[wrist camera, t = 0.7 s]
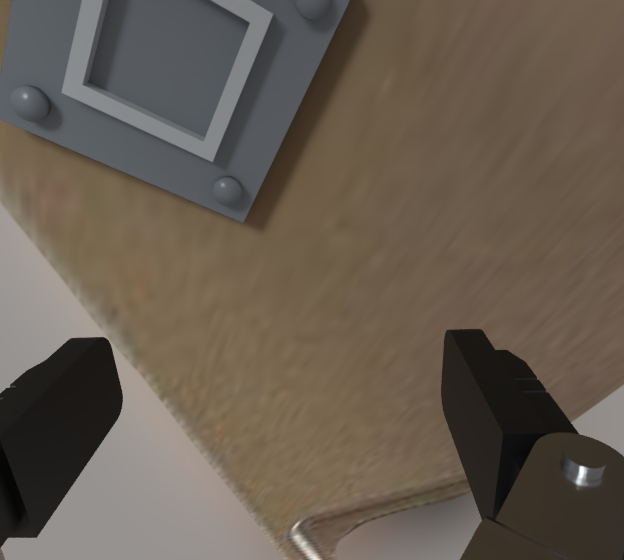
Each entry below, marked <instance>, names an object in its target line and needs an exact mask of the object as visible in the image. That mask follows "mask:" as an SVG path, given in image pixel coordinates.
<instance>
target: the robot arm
mask: <svg viewBox="0 0 624 560" xmlns="http://www.w3.org/2000/svg"><path fill="white" fill-rule="evenodd" d="M441 397H442V406H443V411H444V415H445V418H446V421H447V424H448V426H449V429H450V432H451V435H452V438H453V440H454V443H455V446H456V449H457V451H458V454H459V457H460V460H461V463H462V465H463V468H464V471H465V474H466V477H467V479H468V482H469V485H470V488H471V491H472V493H473V496H474V499H475V502H476V504H477V507H478V510H479V513H480V516H481V518H482V522H481V523H480V524H479V526H478V528H477V529H476V531H475V533H474V535H473V537H472V539H471V541H470V542H469V544H468V546H467V548H466V550H465V552H464V553H463V555H462V557H461V559H460V560H624V457H623V456H622V455H621V454H620V453H619V452H617V451H616V450H614V449H613V448H611V447H610V446H608V445H606V444H604V443H602V442H600V441H598V440H595V439H593V438H590V437H587V436H583V435H580V434H579V433H578V432H577V430H576V429H575V428H574V427H573V425H572V424H571V422H570V421H569V420H568V418H567V417H566V416H565V414H564V413H563V412H562V410H561V409H560V408H559V406H558V405H557V404H556V402H555V401H554V400H553V398H552V397H551V396H550V394H549V393H546V389H545V388H544V386H543V385H542V383H541V382H540V381H539V380H537V377H536V375H535V374H534V373H533V371H532V370H531V369H530V367H529V366H528V365H527V363H526V362H525V361H523V360H522V359H520V358H518V357H517V356H515V355H514V354H512V353H511V352H509V351H508V350H495V349H494V347H493V346H492V344H491V343H490V341H489V340H488V338H487V337H486V335H485V334H484V332H483V331H482V330H481V329H460V330H447V331H446V333H445V338H444V353H443V368H442V384H441ZM122 402H123V395H122V389H121V385H120V381H119V377H118V372H117V368H116V364H115V360H114V356H113V352H112V348H111V345H110V342H109V341H108V340H107V339H106V338H104V337H93V338H71V339H69V340H68V341H67V342H66V343H65V344H63V345H62V346H61V347H60V348H59V349H58V350H57V351H56V352H55V353H53V354H52V355H51V356H50V357H49V358H48V359H47V360H45V361H44V362H42V363H40V364H38V365H36V366H34V367H33V368H31V369H29V370H27V371H26V372H25V373H23V374H22V375H21V376H20V377H19V378H18V379H16V380H15V381H14V382H13V383H12V384H11V385H10V388H6V389H5V390H4V391H3V392H2V393H0V560H5V558H4V555H3V553H2V550H1V546H2V545H3V544H4V542H5V541H6V540H7V538H9V537H10V538H11V537H12V538H16V537H19V538H25V537H27V538H35V537H36V538H37V536H38V535H39V533H40V532H41V530H42V529H43V528H44V526H45V525H46V523H47V521H48V520H49V519H50V517H51V516H52V514H53V513H54V511H55V510H56V509H57V507H58V506H59V504H60V503H61V501H62V500H63V498H64V497H65V495H66V494H67V492H68V491H69V489H70V488H71V486H72V485H73V484H74V482H75V481H76V479H77V478H78V476H79V475H80V473H81V472H82V470H83V469H84V467H85V466H86V465H87V463H88V462H89V460H90V459H91V457H92V456H93V454H94V453H95V451H96V450H97V448H98V447H99V445H100V444H101V443H102V441H103V440H104V438H105V437H106V435H107V434H108V432H109V431H110V429H111V428H112V426H113V425H114V424H115V422H116V421H117V419H118V417H119V415H120V412H121V409H122Z"/></svg>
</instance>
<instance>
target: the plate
mask: <svg viewBox="0 0 624 560" xmlns="http://www.w3.org/2000/svg"><path fill="white" fill-rule="evenodd" d="M349 1H350V0H12V7H11V13H10V19H9V26H8V32H7V39H6V45H5V52H4V58H3V65H2V71H1V78H0V120H3V121H5V122H7V123H10V124H12V125H14V126H17V127H19V128H21V129H24V130H26V131H28V132H31V133H33V134H35V135H38V136H40V137H42V138H45V139H47V140H50V141H52V142H54V143H57V144H59V145H61V146H64V147H66V148H68V149H71V150H73V151H75V152H78V153H80V154H82V155H85V156H87V157H89V158H92V159H94V160H96V161H99V162H101V163H103V164H106V165H108V166H110V167H113V168H115V169H117V170H120V171H122V172H125V173H127V174H129V175H132V176H134V177H136V178H139V179H141V180H143V181H146V182H148V183H150V184H153V185H155V186H157V187H160V188H162V189H164V190H167V191H169V192H171V193H174V194H176V195H178V196H181V197H183V198H185V199H188V200H190V201H192V202H195V203H197V204H199V205H202V206H204V207H207V208H209V209H211V210H214V211H216V212H218V213H221V214H223V215H225V216H228V217H230V218H232V219H235V220H237V221H239V222H242V223H243V222H244V220H245V218H246V216H247V214H248V212H249V210H250V208H251V206H252V204H253V202H254V200H255V197H256V195H257V193H258V191H259V189H260V187H261V185H262V183H263V181H264V179H265V177H266V174H267V172H268V170H269V168H270V166H271V164H272V162H273V160H274V158H275V156H276V154H277V152H278V149H279V147H280V145H281V143H282V141H283V139H284V137H285V135H286V133H287V131H288V129H289V127H290V124H291V122H292V120H293V118H294V116H295V114H296V112H297V110H298V108H299V106H300V104H301V101H302V99H303V97H304V95H305V93H306V91H307V89H308V87H309V85H310V83H311V81H312V79H313V76H314V74H315V72H316V70H317V68H318V66H319V64H320V62H321V60H322V58H323V56H324V54H325V51H326V49H327V47H328V45H329V43H330V41H331V39H332V37H333V35H334V33H335V31H336V28H337V26H338V24H339V22H340V20H341V18H342V16H343V14H344V12H345V10H346V8H347V6H348V3H349Z"/></svg>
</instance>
